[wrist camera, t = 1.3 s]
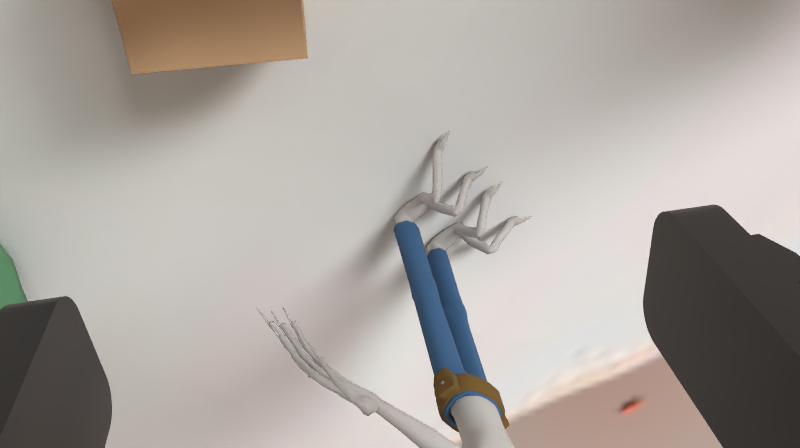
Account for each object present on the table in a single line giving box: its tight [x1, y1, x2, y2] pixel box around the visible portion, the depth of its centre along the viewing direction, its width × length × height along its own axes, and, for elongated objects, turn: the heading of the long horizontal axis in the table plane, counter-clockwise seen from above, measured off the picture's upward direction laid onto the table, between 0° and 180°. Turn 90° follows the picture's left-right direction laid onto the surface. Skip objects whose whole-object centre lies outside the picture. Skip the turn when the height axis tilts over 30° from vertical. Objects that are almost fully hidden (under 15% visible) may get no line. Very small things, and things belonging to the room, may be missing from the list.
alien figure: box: [257, 131, 532, 448], centre depth 25 cm, size 20×5×19 cm, turn 42°
